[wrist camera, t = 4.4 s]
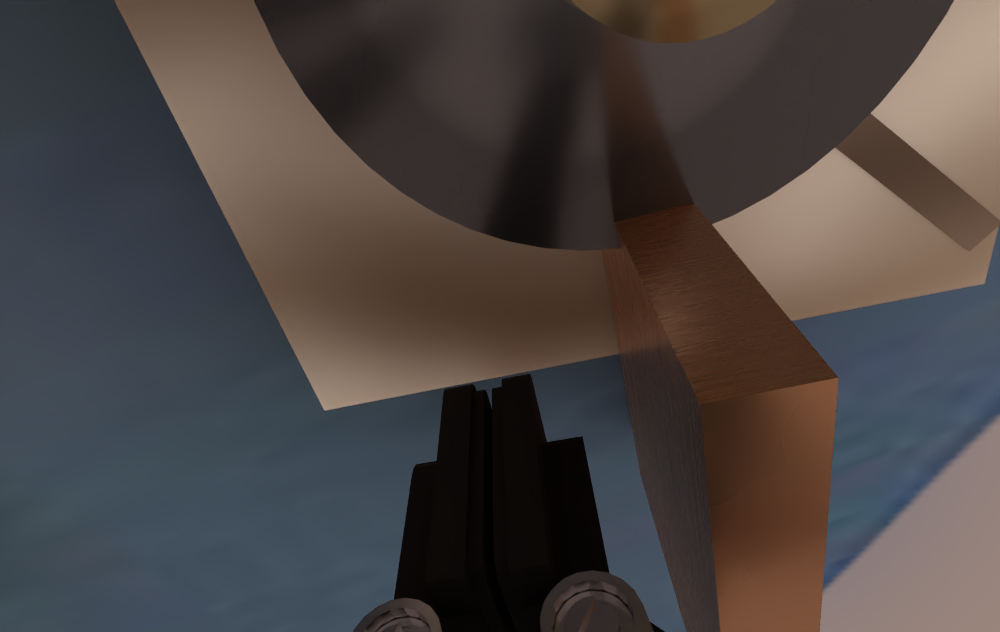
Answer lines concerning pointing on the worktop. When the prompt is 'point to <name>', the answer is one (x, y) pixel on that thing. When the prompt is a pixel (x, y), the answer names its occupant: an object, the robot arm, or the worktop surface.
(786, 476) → the cam dial
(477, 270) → the dial board
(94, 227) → the worktop surface
